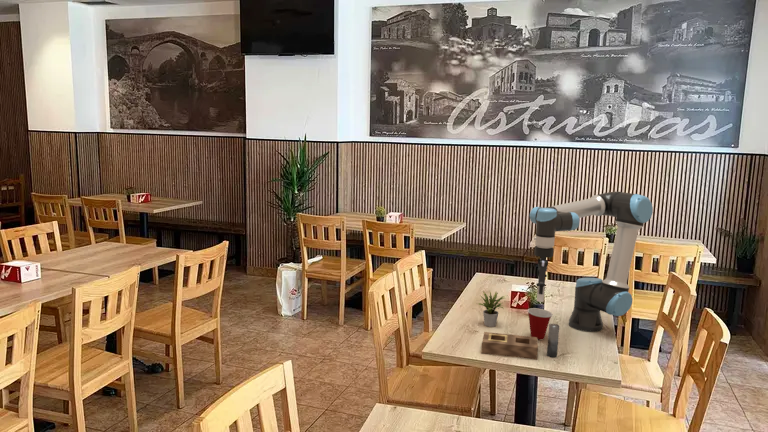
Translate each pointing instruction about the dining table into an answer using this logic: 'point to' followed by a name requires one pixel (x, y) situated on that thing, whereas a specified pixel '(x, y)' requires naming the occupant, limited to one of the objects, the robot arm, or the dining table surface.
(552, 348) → the pin
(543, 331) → the plastic cup
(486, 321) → the house plant
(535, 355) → the hole block
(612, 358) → the dining table surface
